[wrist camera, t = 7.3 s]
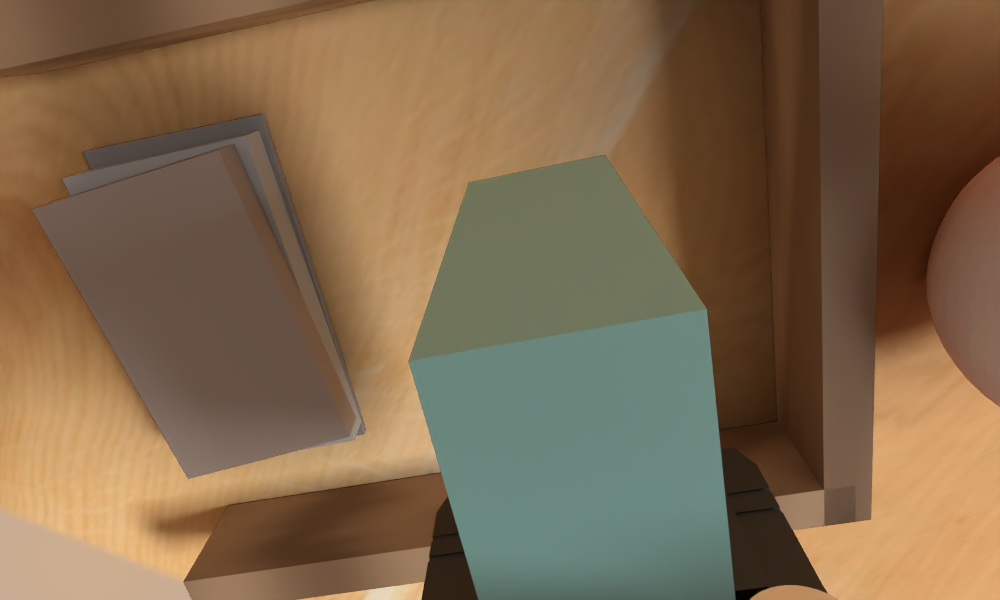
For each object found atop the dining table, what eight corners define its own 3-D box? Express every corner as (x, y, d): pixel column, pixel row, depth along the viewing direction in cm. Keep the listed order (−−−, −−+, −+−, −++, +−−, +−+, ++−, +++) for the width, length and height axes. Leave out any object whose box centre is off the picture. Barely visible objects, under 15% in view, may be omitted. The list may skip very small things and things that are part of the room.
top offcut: (234, 143, 20) (218, 150, 19) (356, 417, 23) (349, 437, 22) (56, 200, 20) (31, 209, 19) (202, 458, 24) (188, 478, 23)
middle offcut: (259, 130, 21) (244, 136, 20) (361, 421, 25) (354, 439, 24) (85, 170, 21) (62, 178, 20) (213, 448, 25) (199, 467, 24)
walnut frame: (809, -159, 18) (887, -206, 14) (818, 448, 25) (870, 519, 22) (16, 22, 20) (-96, 21, 16) (240, 534, 27) (198, 613, 24)
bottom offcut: (272, 110, 22) (260, 114, 21) (370, 417, 26) (364, 434, 25) (104, 145, 22) (83, 151, 21) (227, 440, 27) (215, 458, 26)
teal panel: (604, 154, 12) (706, 308, 5) (667, 575, 15) (772, 970, 9) (468, 182, 12) (407, 361, 6) (562, 590, 16) (590, 982, 9)
